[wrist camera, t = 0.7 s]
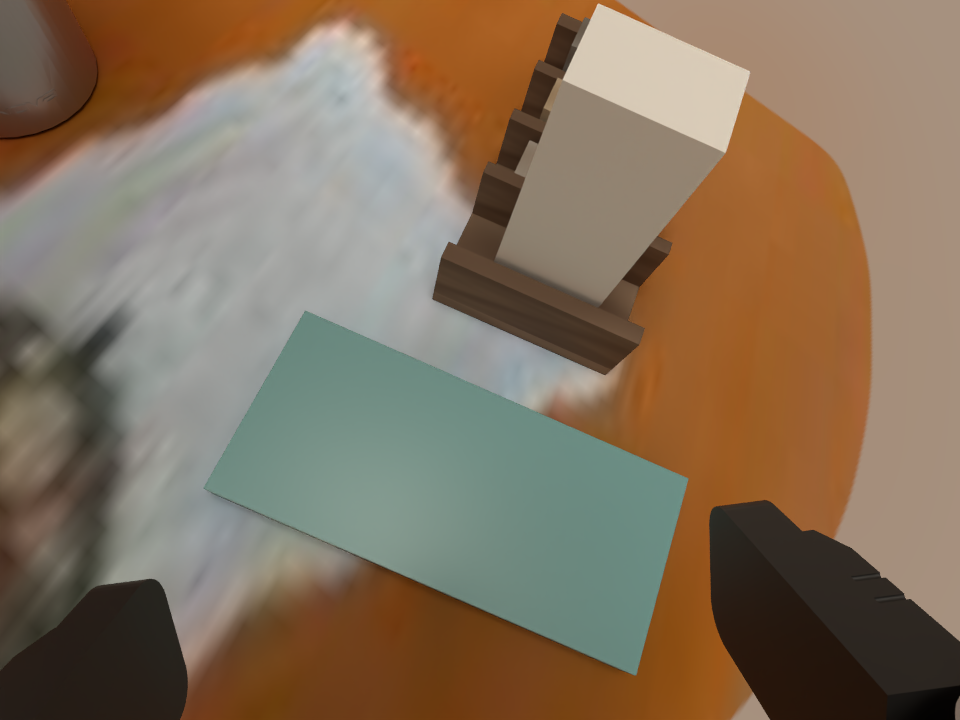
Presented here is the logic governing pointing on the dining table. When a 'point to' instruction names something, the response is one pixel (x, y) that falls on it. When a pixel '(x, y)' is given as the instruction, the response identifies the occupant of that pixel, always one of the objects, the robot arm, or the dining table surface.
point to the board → (456, 490)
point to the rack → (521, 299)
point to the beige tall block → (619, 154)
